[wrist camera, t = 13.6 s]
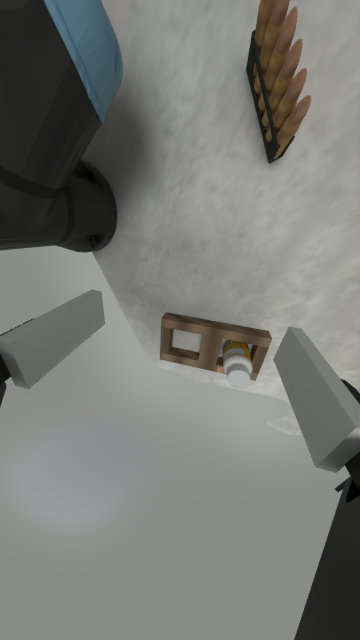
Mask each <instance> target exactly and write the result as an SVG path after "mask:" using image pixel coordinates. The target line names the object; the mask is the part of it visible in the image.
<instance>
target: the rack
mask: <svg viewBox="0 0 360 640" xmlns="http://www.w3.org/2000/svg"><path fill="white" fill-rule="evenodd" d="M173 329H177V330H182V331H187V332H192V333H197V334H202V335H203V337H202V343H201V348H200V353H198V352H193V351H189V350H184V349H179V348H174V347H172V338H173ZM222 338H223V339H228V340H233V341H238V342H243V343H248V344H253V347H252V350H251V353H250V357H251V362H252V368H253V369H252V373H251V374H250V380H255V381H256V378H257V376H258V373H259V371H260V368H261V366H262V363H263V361H264V358H265V355H266V353H267V350H268V348H269V345H270V343H271V340H272V338H271V335H270V333H269V331H265V330H259V329H254V328H248V327H243V326H237V325H232V324H226V323H221V322H215V321H210V320H204V319H199V318H193V317H188V316H182V315H177V314H171V313H165V315H164V316H163V317H162V325H161V345H160V359H161V360H166V361H170V362H175V363H179V364H183V365H188V366H192V367H197V368H201V369H206V370H210V371H215V372H219V373H223V374H226V373H225V372H224V369H223V358H222V357H218V355H219V350H220V346H221V342H222Z"/></svg>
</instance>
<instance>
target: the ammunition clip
mask: <svg viewBox="0 0 360 640" xmlns="http://www.w3.org/2000/svg"><path fill="white" fill-rule="evenodd" d="M289 1H290V0H261V2H260V6H259V11H258V18H257V24H256V30H254V31H253V32H252V37H251V43H250V49H249V55H248V62H247V68H246V70H247V74H248V78H249V83H250V87H251V91H252V95H253V99H254V103H255V108H256V112H257V116H258V120H259V124H260V128H261V133H262V137H263V141H264V145H265V149H266V153H267V158H268V162H269V163H271V162H273V161H275V160H277V159H278V158H280V157H282V156H283V155H284V153H285V151H286V150H287V148H288V147H289V145H290V144H291V142H292V141H293V139H294V138H295V136H294V134H295V133H296V131H297V130H298V128H299V126H300V124H301V122H302V120H303V118H304V116H305V115H306V113H307V111H308V108H309V106H310V102H311V96H310V95H308V96H306V97H304V98H303V99H302V100H301V101H300V102H299V103H298V104H297V100H298V98H299V95H300V93H301V91H302V89H303V86H304V83H305V80H306V75H307V70H306V68H304V69H302V70H301V71H300V72H299V73H298V74H297V75H296V76H295V78H294V79H293V76H294V73H295V71H296V68H297V65H298V62H299V59H300V56H301V51H302V39H298V40H297V41H296V42H295V44H294V45H293V46H292V48H291V50H290V46H291V43H292V39H293V36H294V33H295V28H296V23H297V8H296V6H295V7H294V8H293V9H292V10H291V11H290V12H289V14H288V16H287V18H286V15H287V10H288V6H289ZM285 19H286V20H285ZM254 36H255V37H254ZM289 50H290V51H289ZM296 104H297V106H296ZM295 106H296V107H295ZM294 108H295V109H294Z"/></svg>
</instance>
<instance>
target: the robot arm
mask: <svg viewBox="0 0 360 640" xmlns="http://www.w3.org/2000/svg"><path fill="white" fill-rule="evenodd" d="M122 74H123V64H122V56H121V51H120V47H119V44H118V41H117V38H116V35H115V33H114V30H113V28H112V25H111V23H110V20H109V18H108V16H107V13H106V11H105V9H104V7H103V4H102V2H101V0H0V250H10V249H21V248H31V247H42V246H52V245H56V246H60V247H63V248H66V249H70V250H73V251H77V252H92V251H97V250H100V249H102V248H103V247H105V246H106V245H107V244H108V243H109V241H110V240H111V238H112V237H113V234H114V232H115V228H116V222H117V211H116V204H115V200H114V196H113V194H112V191H111V189H110V187H109V185H108V183H107V181H106V180H105V178H104V177H103V176H102V174H101V173H100V172H99V171H98V170H97V169H96V168H95V167H94V166H92V165H91V164H89V163H88V162H86V161H84V160H82V159H81V157H82V155H83V153H84V152H85V150H86V148H87V147H88V145H89V143H90V141H91V140H92V138H93V136H94V135H95V133H96V131H97V130H98V128H99V126H100V125H101V123H102V124H104V122H105V115H106V113H107V111H108V109H109V107H110V105H111V103H112V100H113V98H114V96H115V94H116V92H117V90H118V89H119V86H120V84H121V80H122ZM104 324H105V320H104V311H103V302H102V293H101V291H96V290H90V291H88V292H86V293H84V294H82V295H81V296H78V297H76V298H75V299H73V300H71V301H69V302H67V303H65V304H63V305H61V306H59V307H57V308H55V309H53V310H51V311H49V312H47V313H45V314H43V315H41V316H39V317H37V318H34V319H31V320H29V321H27V322H25V323H23V325H19V326H18V327H15V329H11V330H9V331H7V332H5V333H3V334H1V335H0V406H1V403H2V400H3V396H4V393H5V390H6V383H5V380H7V379H8V378H10V377H11V378H12V380H13V382H14V384H15V385H16V386H19V387H23V388H27V389H29V388H31V387H32V386H33V385H34V384H35V383H36V382H38V381H39V380H40V379H41V378H42V377H43V376H44V375H46V374H47V373H48V372H49V371H50V370H51V369H53V368H54V367H55V366H56V365H57V364H59V363H60V362H61V361H62V360H63V359H64V358H65V357H67V356H68V355H69V354H70V353H71V352H73V351H74V350H75V349H76V348H77V347H78V346H80V345H81V344H82V343H83V342H84V341H85V340H87V339H88V338H89V337H90V336H91V335H92V334H93V333H95V332H96V331H97V330H98V329H99V328H100V327H102V326H103V325H104ZM274 362H275V364H276V367H277V369H278V372H279V374H280V377H281V380H282V382H283V385H284V387H285V390H286V393H287V395H288V398H289V400H290V403H291V405H292V408H293V411H294V413H295V416H296V418H297V421H298V423H299V426H300V429H301V431H302V434H303V436H304V439H305V441H306V444H307V447H308V449H309V452H310V454H311V457H312V459H313V462H314V465H315V467H317V468H321V469H324V470H328V471H332V472H335V473H336V472H337V471H339V470H340V469H341V468H342V467H344V466H346V468H347V470H348V472H349V474H350V475H351V476H350V477H349V478H348V479H346V480H345V481H344V482H342V483H341V484H340V485H338V486H337V487H336V489H335V490H336V491H337V492H339V491H340V490H342V489H343V491H342V494H341V497H340V500H339V503H338V506H337V509H336V512H335V516H334V519H333V522H332V525H331V528H330V531H329V534H328V537H327V540H326V543H325V546H324V549H323V553H322V556H321V559H320V562H319V565H318V568H317V571H316V574H315V577H314V581H313V583H312V586H311V590H310V593H309V596H308V599H307V602H306V605H305V608H304V611H303V614H302V617H301V621H300V623H299V627H298V630H297V633H296V636H295V639H294V640H360V393H359V392H358V391H357V390H356V389H355V388H354V387H353V386H351V385H350V384H349V383H348V382H347V381H345V380H342V379H340V378H339V377H338V376H337V374H336V373H335V372H334V370H333V369H332V368H331V366H330V365H329V364H328V363H327V361H326V360H325V359H324V357H323V356H322V355H321V353H320V352H319V351H318V350H317V348H316V347H315V346H314V344H313V343H312V342H311V340H310V339H309V338H308V336H307V335H306V334H305V333H304V331H303V330H302V329H300V328H294V327H289V328H288V330H287V332H286V334H285V336H284V338H283V340H282V342H281V344H280V346H279V349H278V351H277V353H276V355H275V357H274Z"/></svg>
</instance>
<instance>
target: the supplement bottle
mask: <svg viewBox="0 0 360 640" xmlns="http://www.w3.org/2000/svg"><path fill="white" fill-rule="evenodd" d="M223 369H224V372H225V373H226V375H227V380H228V382H229V383H230V384H231V385H233V386H235V387H244V386H246V385H248V384H249V382H250V374H251V373H252V369H253V368H252V362H251V357H250V352H249V347H248V345H247V343H243V342H238V341H233V340H227V341H226V342H225V344H224V346H223Z"/></svg>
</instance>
